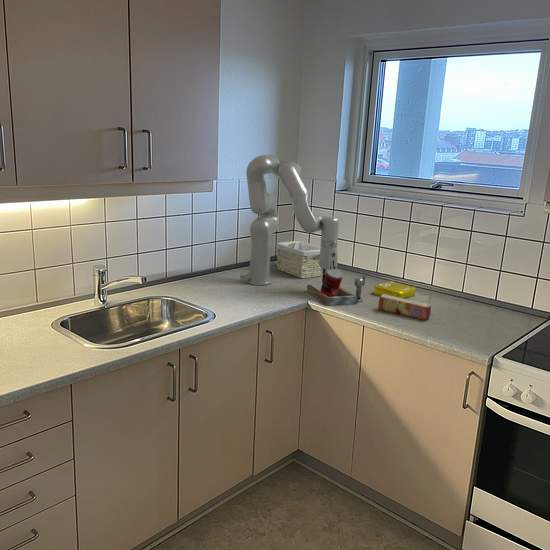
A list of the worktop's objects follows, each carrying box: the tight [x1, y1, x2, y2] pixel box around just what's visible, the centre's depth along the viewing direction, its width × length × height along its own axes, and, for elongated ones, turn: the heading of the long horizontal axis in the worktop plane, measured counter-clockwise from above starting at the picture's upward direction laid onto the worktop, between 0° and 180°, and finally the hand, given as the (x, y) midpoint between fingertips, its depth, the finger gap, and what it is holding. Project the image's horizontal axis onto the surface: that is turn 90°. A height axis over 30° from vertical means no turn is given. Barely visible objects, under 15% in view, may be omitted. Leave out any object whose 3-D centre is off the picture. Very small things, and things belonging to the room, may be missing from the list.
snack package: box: [377, 294, 432, 321], centre depth 231 cm, size 21×7×7 cm, turn 59°
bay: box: [306, 284, 358, 307], centre depth 248 cm, size 14×22×4 cm, turn 21°
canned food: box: [320, 268, 344, 297], centre depth 249 cm, size 8×8×11 cm
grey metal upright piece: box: [353, 275, 366, 303], centre depth 244 cm, size 4×4×11 cm
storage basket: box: [276, 240, 323, 279], centre depth 287 cm, size 24×16×15 cm
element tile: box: [373, 280, 417, 300], centre depth 258 cm, size 15×15×5 cm
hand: (325, 283), depth 254 cm, fingers closed
